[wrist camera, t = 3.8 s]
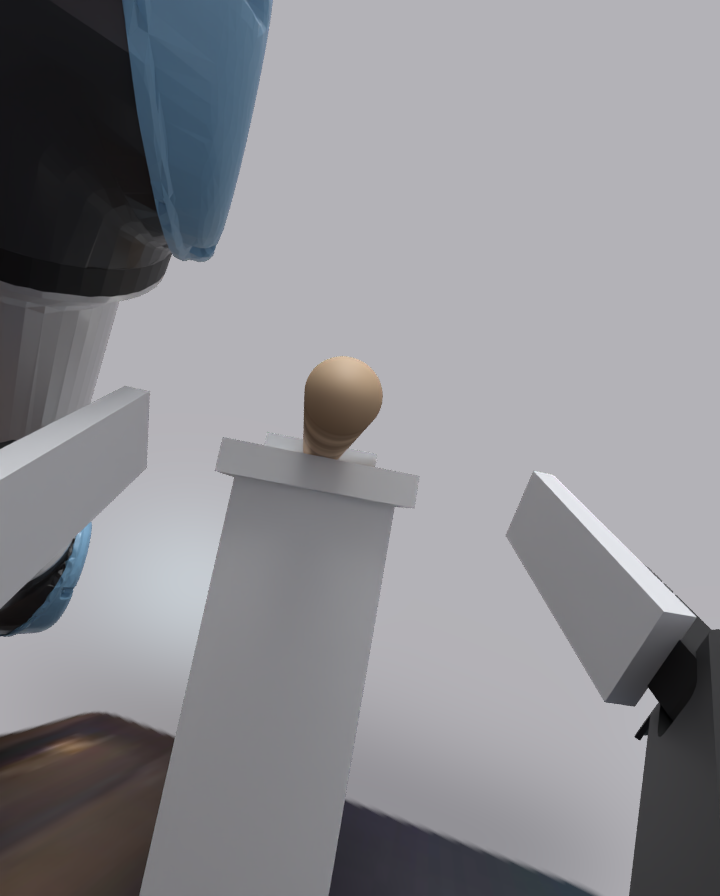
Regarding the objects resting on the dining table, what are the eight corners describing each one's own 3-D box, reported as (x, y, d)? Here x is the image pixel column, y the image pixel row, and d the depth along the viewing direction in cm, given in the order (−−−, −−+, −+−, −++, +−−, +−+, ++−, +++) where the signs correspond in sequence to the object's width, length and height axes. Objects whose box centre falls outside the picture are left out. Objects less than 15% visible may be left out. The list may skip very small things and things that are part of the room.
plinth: (325, 1050, 22) (419, 476, 26) (80, 1041, 20) (222, 437, 25) (316, 835, 35) (378, 484, 40) (170, 821, 34) (251, 459, 38)
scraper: (449, 455, 16) (461, 382, 17) (216, 407, 15) (234, 330, 16) (363, 480, 39) (369, 449, 39) (267, 462, 38) (274, 430, 38)
